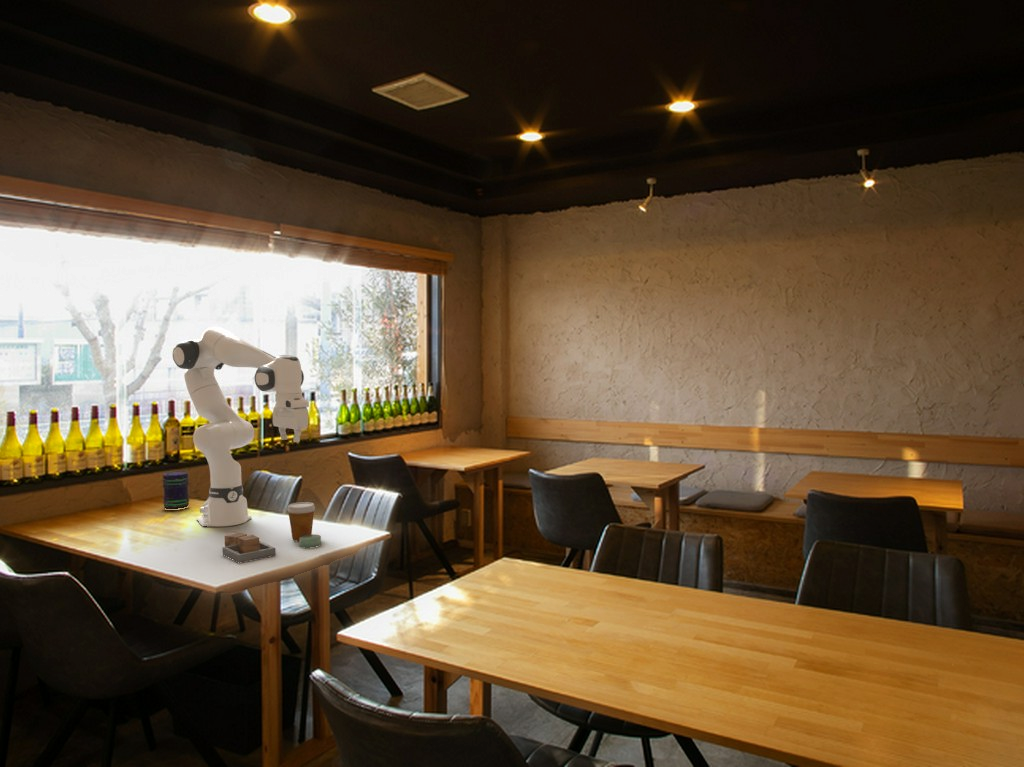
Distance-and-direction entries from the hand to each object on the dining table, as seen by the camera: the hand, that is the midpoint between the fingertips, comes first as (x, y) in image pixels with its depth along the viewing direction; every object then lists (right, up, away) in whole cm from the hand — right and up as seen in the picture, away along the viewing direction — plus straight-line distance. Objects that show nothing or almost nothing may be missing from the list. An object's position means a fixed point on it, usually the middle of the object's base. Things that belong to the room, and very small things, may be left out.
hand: (290, 440), depth 260 cm
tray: (-7, -35, -21) cm, 42 cm away
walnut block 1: (-14, -35, -14) cm, 40 cm away
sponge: (+10, -35, -10) cm, 37 cm away
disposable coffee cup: (+4, -34, -1) cm, 35 cm away
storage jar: (-63, -33, +51) cm, 87 cm away
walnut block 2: (-7, -34, -21) cm, 41 cm away
